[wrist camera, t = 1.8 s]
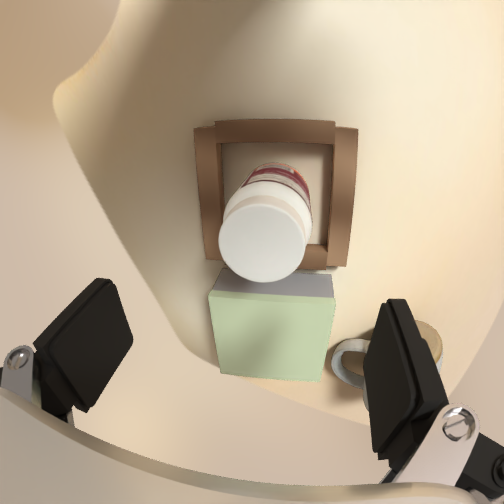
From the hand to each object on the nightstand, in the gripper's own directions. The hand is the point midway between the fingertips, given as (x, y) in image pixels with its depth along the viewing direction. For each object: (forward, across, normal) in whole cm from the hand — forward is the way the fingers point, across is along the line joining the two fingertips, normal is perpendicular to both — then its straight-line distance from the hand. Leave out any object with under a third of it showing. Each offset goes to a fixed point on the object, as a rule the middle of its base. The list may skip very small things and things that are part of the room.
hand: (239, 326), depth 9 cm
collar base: (+13, 0, -1) cm, 13 cm away
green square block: (+13, 0, +10) cm, 16 cm away
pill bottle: (+13, 0, -1) cm, 13 cm away
